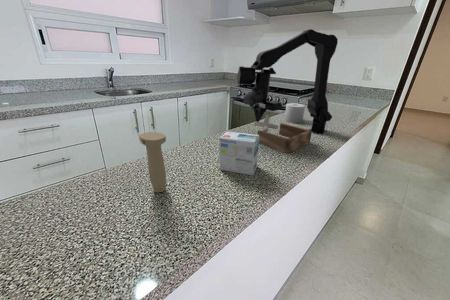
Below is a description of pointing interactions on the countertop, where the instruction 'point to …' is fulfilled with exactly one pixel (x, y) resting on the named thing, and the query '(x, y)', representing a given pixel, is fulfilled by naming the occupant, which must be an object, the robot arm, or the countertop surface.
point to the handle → (155, 159)
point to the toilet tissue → (294, 112)
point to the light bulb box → (239, 152)
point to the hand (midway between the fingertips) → (257, 121)
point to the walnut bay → (295, 141)
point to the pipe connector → (266, 124)
